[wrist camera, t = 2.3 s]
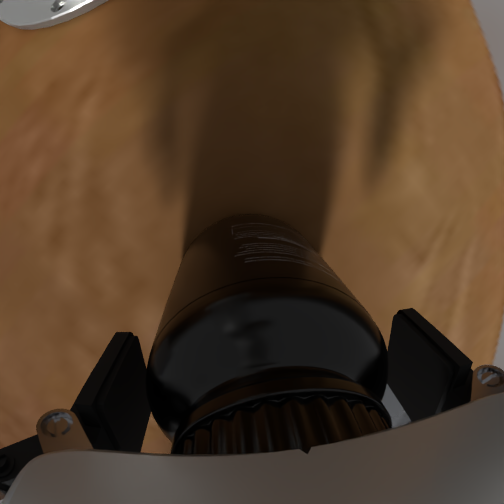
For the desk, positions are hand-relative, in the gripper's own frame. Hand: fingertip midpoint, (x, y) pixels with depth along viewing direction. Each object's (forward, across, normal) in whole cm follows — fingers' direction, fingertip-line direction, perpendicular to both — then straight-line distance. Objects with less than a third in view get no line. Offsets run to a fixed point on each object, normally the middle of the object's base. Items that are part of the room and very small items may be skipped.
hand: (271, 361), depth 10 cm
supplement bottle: (+6, 0, -1) cm, 6 cm away
